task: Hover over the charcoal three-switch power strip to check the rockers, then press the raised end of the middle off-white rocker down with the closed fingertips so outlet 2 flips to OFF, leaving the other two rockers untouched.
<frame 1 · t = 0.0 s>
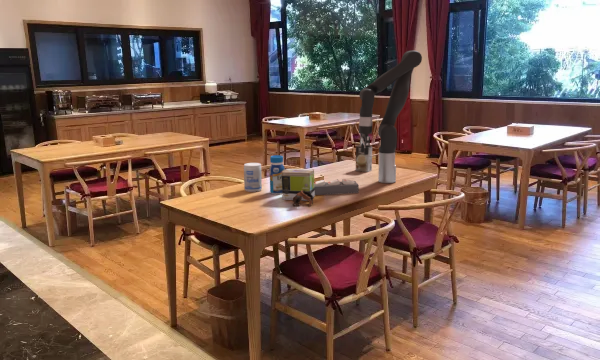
hand: (364, 153, 285), 17 cm above the table, tool pointing down, fingers open, 8 cm apart
rocker 1: (348, 182, 269), point 5 cm above the table, hinge at -12.0°
coffee box: (363, 170, 321), on the table
rocker 2: (333, 182, 268), point 5 cm above the table, hinge at 12.0°
strip housing: (333, 191, 269), on the table
rocker 3: (319, 183, 268), point 5 cm above the table, hinge at 12.0°
beverage bottle: (277, 193, 270), on the table
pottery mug: (301, 206, 245), on the table
tea box: (298, 198, 259), on the table
supplement tub: (253, 190, 277), on the table
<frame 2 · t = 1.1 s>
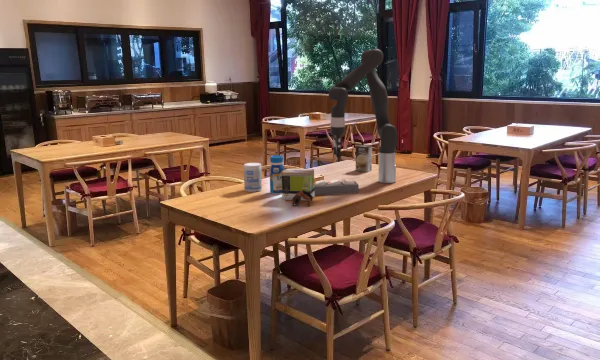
hand: (337, 155, 268), 19 cm above the table, tool pointing down, fingers open, 8 cm apart
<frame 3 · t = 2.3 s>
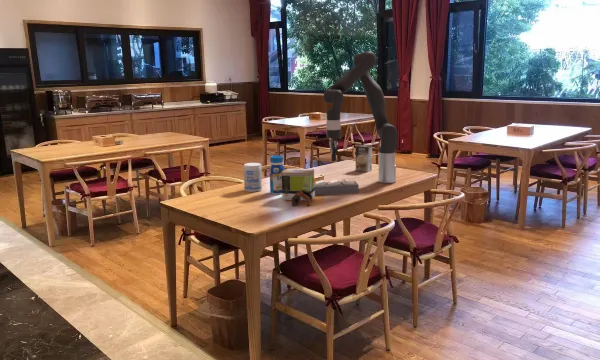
hand: (333, 160, 266), 17 cm above the table, tool pointing down, fingers closed
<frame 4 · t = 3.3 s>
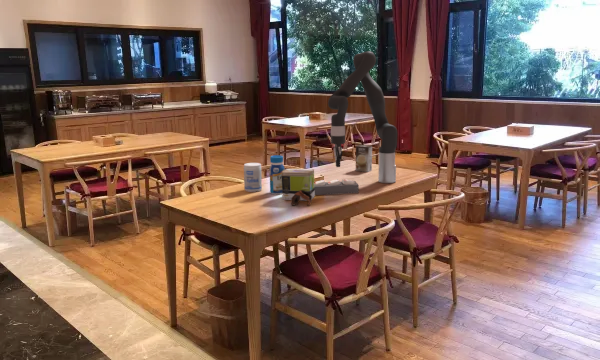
hand: (337, 166, 267), 14 cm above the table, tool pointing down, fingers closed
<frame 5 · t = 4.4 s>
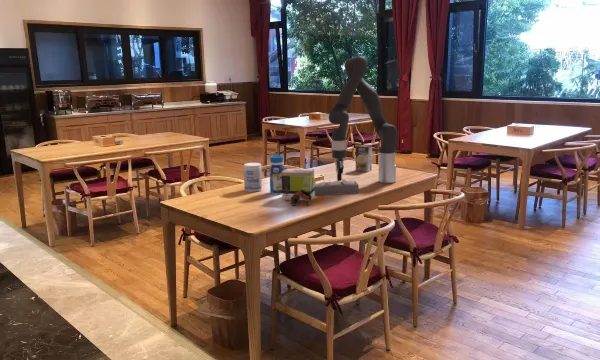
hand: (339, 180, 268), 6 cm above the table, tool pointing down, fingers closed
rocker 2: (333, 182, 268), point 5 cm above the table, hinge at 9.3°, touching gripper
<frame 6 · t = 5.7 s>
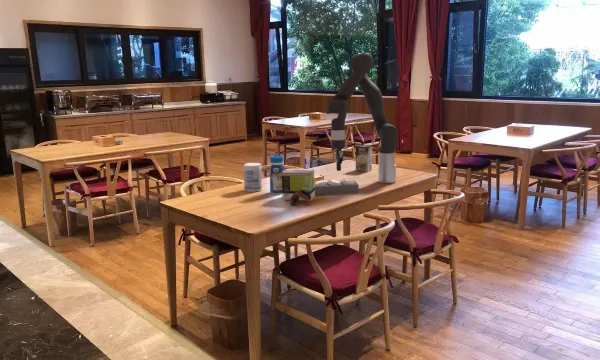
hand: (338, 170, 267), 12 cm above the table, tool pointing down, fingers closed
rocker 2: (334, 182, 268), point 5 cm above the table, hinge at -15.2°
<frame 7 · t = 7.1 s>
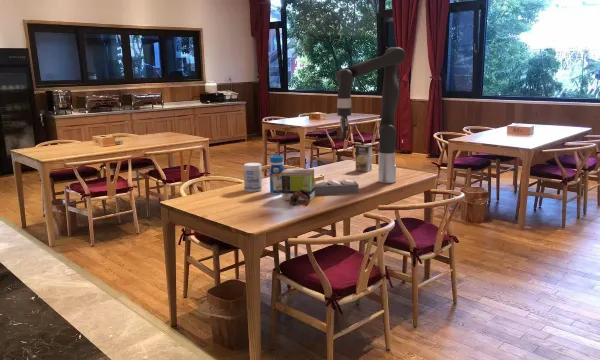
hand: (344, 138, 276), 27 cm above the table, tool pointing down, fingers closed
rocker 2: (334, 182, 268), point 5 cm above the table, hinge at -22.7°, touching strip housing
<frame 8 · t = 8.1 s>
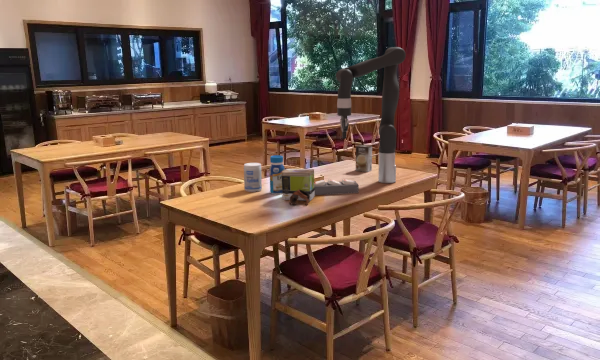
hand: (344, 138, 276), 27 cm above the table, tool pointing down, fingers closed
rocker 2: (334, 182, 268), point 5 cm above the table, hinge at -21.4°
at the end: rocker 2 at -21° (first picture: +12°); rocker 1 at -12° (first picture: -12°); rocker 3 at +12° (first picture: +12°) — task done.
